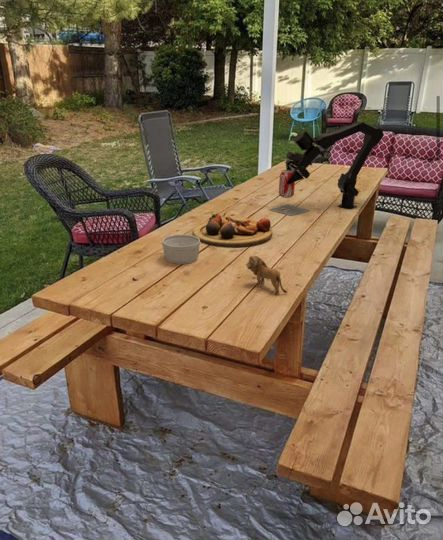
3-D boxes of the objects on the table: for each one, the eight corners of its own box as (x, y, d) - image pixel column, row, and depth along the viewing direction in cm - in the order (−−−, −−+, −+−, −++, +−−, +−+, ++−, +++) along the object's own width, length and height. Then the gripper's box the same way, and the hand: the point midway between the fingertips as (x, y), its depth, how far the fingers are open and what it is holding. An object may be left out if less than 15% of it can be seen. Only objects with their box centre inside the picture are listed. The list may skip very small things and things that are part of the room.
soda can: (293, 198, 226) (294, 172, 221) (278, 198, 227) (279, 172, 222) (294, 195, 232) (295, 169, 228) (279, 194, 233) (280, 169, 229)
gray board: (287, 204, 241) (287, 204, 241) (310, 210, 231) (310, 210, 231) (268, 210, 232) (268, 209, 232) (292, 216, 222) (292, 215, 222)
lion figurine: (242, 283, 153) (243, 256, 149) (253, 278, 156) (254, 252, 153) (282, 297, 144) (284, 268, 140) (292, 291, 148) (294, 263, 144)
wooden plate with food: (279, 227, 207) (280, 208, 204) (261, 251, 179) (262, 230, 176) (208, 221, 216) (208, 203, 213) (180, 243, 188) (180, 223, 185)
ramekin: (185, 268, 164) (185, 249, 161) (154, 260, 170) (153, 241, 167) (207, 256, 174) (207, 238, 171) (177, 249, 180) (177, 231, 178)
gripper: (290, 142, 230) (266, 166, 232) (304, 148, 213) (279, 174, 215) (304, 158, 234) (281, 182, 236) (320, 165, 217) (295, 191, 220)
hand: (284, 182), depth 227 cm, fingers closed on soda can, 7 cm apart
